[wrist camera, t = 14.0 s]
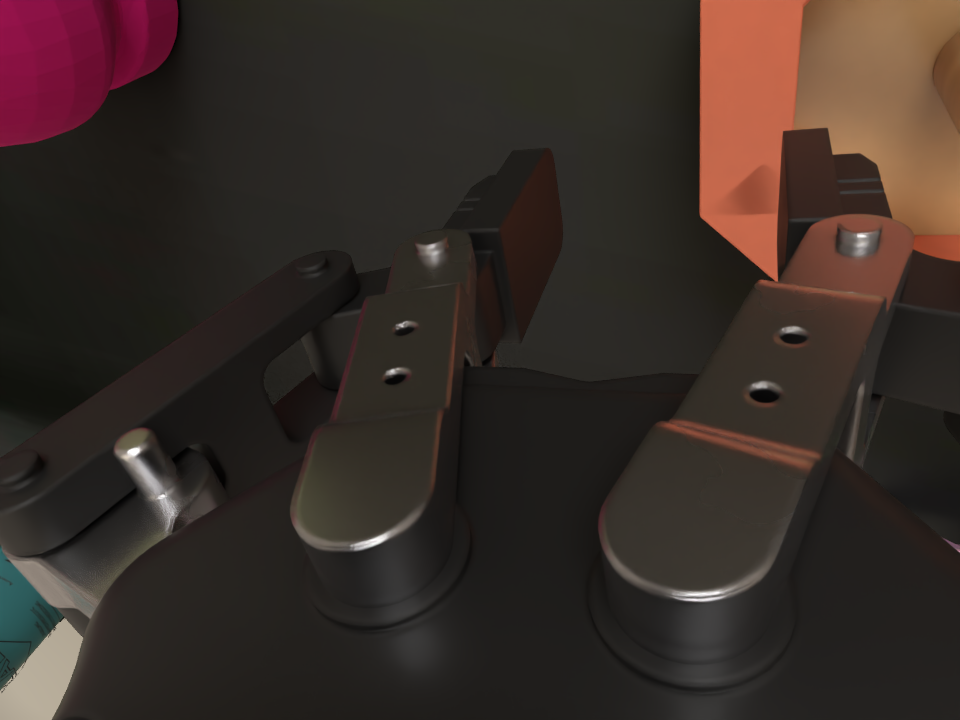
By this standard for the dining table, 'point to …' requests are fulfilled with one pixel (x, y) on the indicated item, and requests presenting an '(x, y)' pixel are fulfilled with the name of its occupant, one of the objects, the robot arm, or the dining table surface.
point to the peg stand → (889, 98)
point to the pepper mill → (74, 59)
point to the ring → (755, 123)
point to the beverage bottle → (21, 619)
